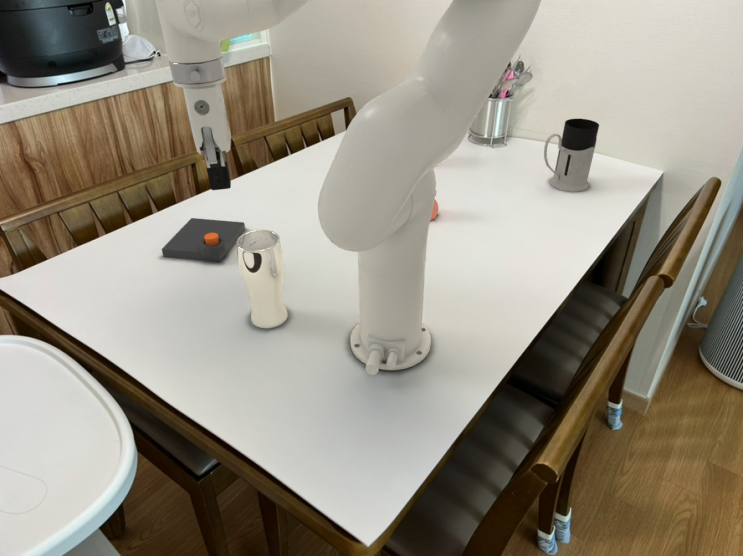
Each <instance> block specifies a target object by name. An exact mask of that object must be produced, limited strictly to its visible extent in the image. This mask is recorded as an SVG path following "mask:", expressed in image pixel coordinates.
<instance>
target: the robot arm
mask: <svg viewBox="0 0 743 556" xmlns="http://www.w3.org/2000/svg"><path fill="white" fill-rule="evenodd" d="M311 1H312V0H154V3H155V6H156V11H157V15H158V21H159V24H160V28H161V33H162V37H163V38H162V39H163V43H164V46H165V50H166V51H165V52H166V55H167V60H168V64H169V69H170V72H171V78H172V82H173V83H172V84H173V86H175V87H177V88H182V91H183V97H184V100H185V101H184V102H185V105H186V112H187V115H188V120H189V124H190V125H189V126H190V129H191V134H192V137H193V141H194V146H195V149H196V152H197V153H198V154H199V155H201V156H202V155H203V156H204V160H205V165H206V173H207V177H208V182H209V187H210V190H211V191H220V190H228V189H231V187H232V182H231V175H230V170H229V165H228V161H226V154H225V153H228V152H230V150H231V147H232V133H231V128H230V123H229V119H228V114H227V108H226V103H225V99H224V98H225V97H224V94H223V88H222V86H221V84H223V83H224V82H226V81H227V76H226V70H225V64H224V59H223V53H222V52H223V51H222V46H221V42H223V41H227V40H231V39H235V38H238V37H243V36H245V35H250V34H254V33H259V32H264V31H266V30H270V29H271V28H274V27H275V26H277V25H279V24H281V23H283V22H284V21H285V20H287V19H289V18H290V17H291V16H293V15H295V14H296V13H298V12H300V11H301V10H302V9H304V8H305V7H306V6H307V5H309V4H310V3H311ZM541 2H542V0H452V2H450V4H449V6H448V7H447V8H446V10H445V11H444V13H443V15H442V16H441V18H440V19H439V21H438V22H437V23H436V25H435V27H434V28H433V30H432V31H431V33H430V35H429V38H428V41H427V43H426V45H425V47H424V49H423V51H422V54H420V57H419V58H418V61H417V62H416V64H415V66H414V67H413V70H412V71H411V73H409V74H408V75H409V76H407V78H406V79H405V80H404V81H402V82H401V83H399V84H398V85H397V86H395V87H393V88H391V89H388V90H387V91H385V92H382V93H381V94H379V95H377V96H375V97H373V98H372V99H370V100H369V101H368V102H366V103H365V104H364V105H363V106H362V107H361V108H360V109H359V110H358V112H356V114H355V115H354V117H353V118H352V119H351V121H350V123H349V125H348V126H347V128H346V130H345V132H344V135H343V137H342V139H341V142H340V144H339V146H338V148H337V151H336V152H335V155H334V158H333V160H332V161H331V164H330V167H329V169H328V172H327V174H326V176H325V178H324V181H323V183H322V186H321V188H320V191H319V195H318V200H317V215H318V221H319V224H320V228H321V229H322V231H323V233H324V235H325V236H326V238H327V239H328V240H329V242H331V243H332V244H333V245H334V246H336V247H337V248H339V249H342V250H344V251H347V252H352V253H357V275H358V277H357V279H358V308H359V309H358V311H359V312H358V313H359V322H358V323H357V324H356V325H355V326H354V327H353V328H352V331H351V333H350V336H349V337H350V338H349V339H350V341H349V343H350V349H351V351H352V353H353V354H354V356H355V358H356V359H358V360H359V361H360V362H361V363H363V364H365V368H364V369H365V372H366V373H368V374H369V375H373V376H374V375H377V374H378V373H379V370H383V371H384V370H385V371H399V370H405V369H408V368H411V367H414V366H416V365H417V364H419V363H421V362H422V361H424V359H426V358H427V356H428V355H429V353H430V351H431V346H432V336H431V333H430V331H429V329H428V327H427V326H426V325H424V323H423V311H424V294H425V293H424V292H425V277H426V275H425V274H426V262H427V249H428V248H427V247H428V235H429V229H430V222H431V220H430V219H431V215H432V210H433V206H434V200H436V196H435V194H436V195H437V178H436V173H435V170H434V169H435V168H436V167H437V166H439V165H441V164H442V163H443V162H444V161H445V160H446V159H448V158H449V157H450V156H451V155H452V154H453V153H455V151H456V150H457V149H459V147H460V146H461V144H462V143H463V141H464V139H465V137H466V135H467V134H468V132H469V131H470V128H471V127H472V125H473V123H474V121H475V120H476V119H477V117H478V115H479V114H480V112H481V110H482V108H483V107H484V105H485V104H486V103H487V101H488V99H489V97H490V96H491V94H492V93H493V91H494V90H495V88H496V86H497V84H498V82H499V80H500V78H501V77H502V75H503V74H504V72H505V70H506V69H507V67H508V65H509V64H510V62H511V60H512V59H513V57H514V56H515V54H516V53H517V51H518V49H519V47H520V46H521V45H522V42H523V41H524V39H525V37H526V36H527V34H528V32H529V30H530V28H531V26H532V24H533V22H534V20H535V18H536V16H537V13H538V10H539V7H540V5H541Z"/></svg>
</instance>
